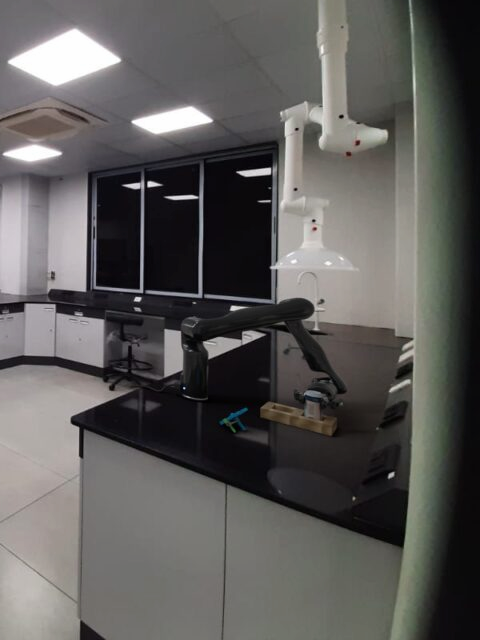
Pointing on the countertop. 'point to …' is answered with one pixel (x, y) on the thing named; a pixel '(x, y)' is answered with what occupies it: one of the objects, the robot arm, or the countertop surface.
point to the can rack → (298, 418)
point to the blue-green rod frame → (235, 418)
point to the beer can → (313, 405)
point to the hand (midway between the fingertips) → (312, 403)
